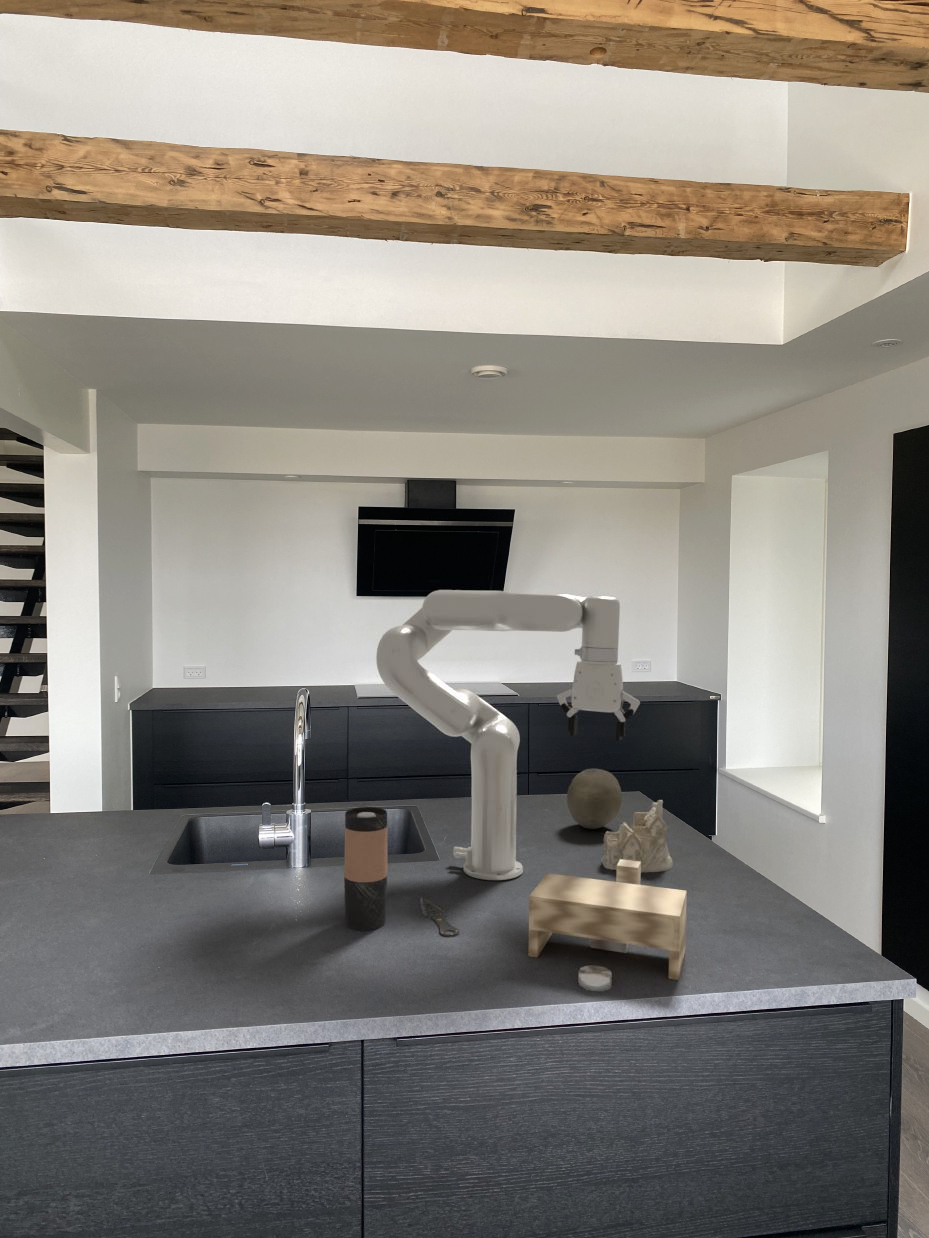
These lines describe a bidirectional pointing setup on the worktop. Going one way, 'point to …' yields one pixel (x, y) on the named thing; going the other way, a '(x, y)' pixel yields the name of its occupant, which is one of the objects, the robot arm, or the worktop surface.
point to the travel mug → (365, 868)
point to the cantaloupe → (594, 798)
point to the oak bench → (609, 914)
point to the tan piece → (625, 874)
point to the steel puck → (595, 978)
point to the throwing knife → (437, 917)
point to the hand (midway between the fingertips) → (596, 737)
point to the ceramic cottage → (639, 842)
